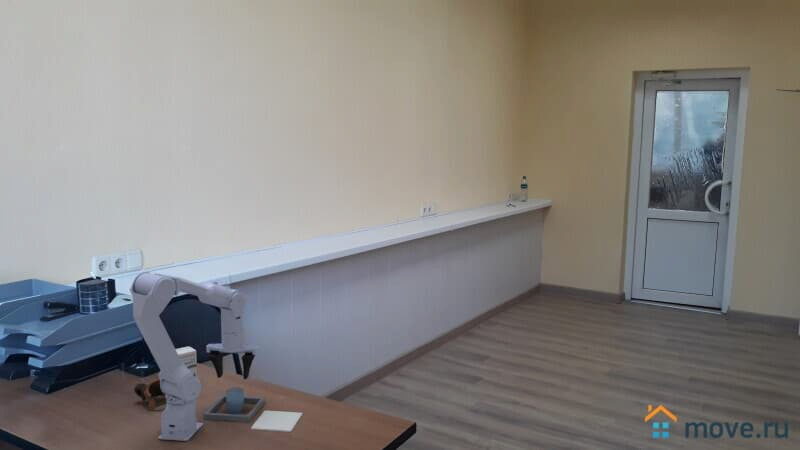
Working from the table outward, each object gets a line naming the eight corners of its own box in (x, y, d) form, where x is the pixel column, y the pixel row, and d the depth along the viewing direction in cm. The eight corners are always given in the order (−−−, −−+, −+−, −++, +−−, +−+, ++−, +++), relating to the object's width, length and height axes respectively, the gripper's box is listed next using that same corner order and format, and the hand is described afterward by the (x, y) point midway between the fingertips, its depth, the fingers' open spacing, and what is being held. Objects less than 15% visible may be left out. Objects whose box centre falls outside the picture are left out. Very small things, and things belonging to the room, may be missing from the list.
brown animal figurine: (179, 397, 189) (180, 379, 185) (166, 423, 181) (168, 405, 177) (139, 387, 188) (140, 369, 184) (125, 413, 181) (125, 394, 176)
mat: (291, 432, 166) (291, 430, 166) (250, 429, 168) (250, 427, 168) (302, 414, 177) (302, 412, 177) (264, 411, 178) (264, 410, 178)
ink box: (171, 393, 191) (170, 355, 189) (164, 388, 194) (163, 351, 193) (198, 385, 197) (197, 349, 195) (191, 381, 200) (189, 345, 199)
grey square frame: (249, 422, 172) (249, 417, 172) (203, 419, 173) (203, 414, 173) (265, 402, 185) (265, 397, 184) (222, 400, 186) (222, 395, 186)
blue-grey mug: (240, 415, 176) (239, 394, 176) (223, 413, 177) (223, 393, 176) (248, 405, 183) (248, 385, 182) (233, 404, 183) (232, 384, 183)
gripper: (261, 327, 180) (262, 373, 182) (213, 325, 182) (214, 370, 184) (253, 335, 173) (254, 382, 175) (202, 333, 175) (204, 379, 177)
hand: (233, 377), depth 179 cm, fingers open, 7 cm apart
